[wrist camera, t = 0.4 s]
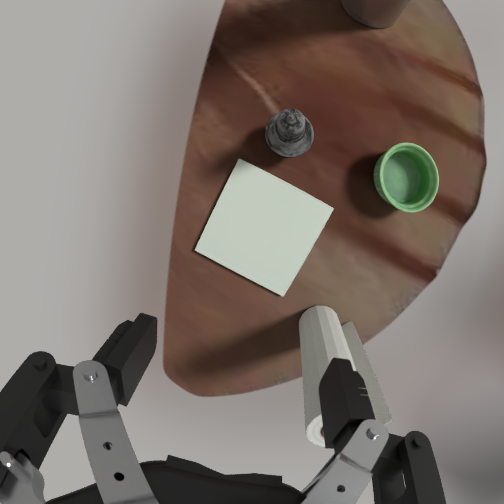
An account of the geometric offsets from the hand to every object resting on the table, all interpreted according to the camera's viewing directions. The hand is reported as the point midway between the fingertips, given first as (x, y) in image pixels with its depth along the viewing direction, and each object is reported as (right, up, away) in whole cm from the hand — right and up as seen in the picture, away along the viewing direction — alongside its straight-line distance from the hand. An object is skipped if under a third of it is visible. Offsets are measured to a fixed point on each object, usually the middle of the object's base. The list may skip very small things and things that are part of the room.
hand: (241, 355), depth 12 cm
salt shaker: (+5, +20, +23) cm, 31 cm away
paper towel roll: (+11, -6, +29) cm, 31 cm away
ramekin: (+21, +15, +23) cm, 34 cm away
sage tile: (+2, +8, +26) cm, 27 cm away
